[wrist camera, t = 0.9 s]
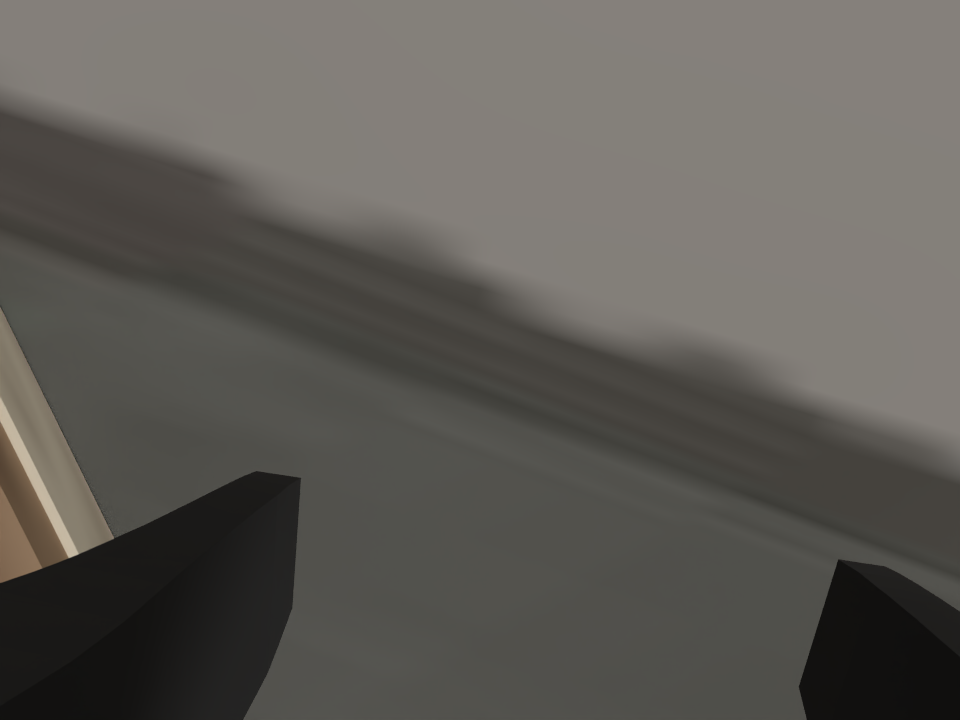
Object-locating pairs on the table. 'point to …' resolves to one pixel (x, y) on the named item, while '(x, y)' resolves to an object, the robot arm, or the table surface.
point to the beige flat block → (46, 452)
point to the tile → (23, 521)
